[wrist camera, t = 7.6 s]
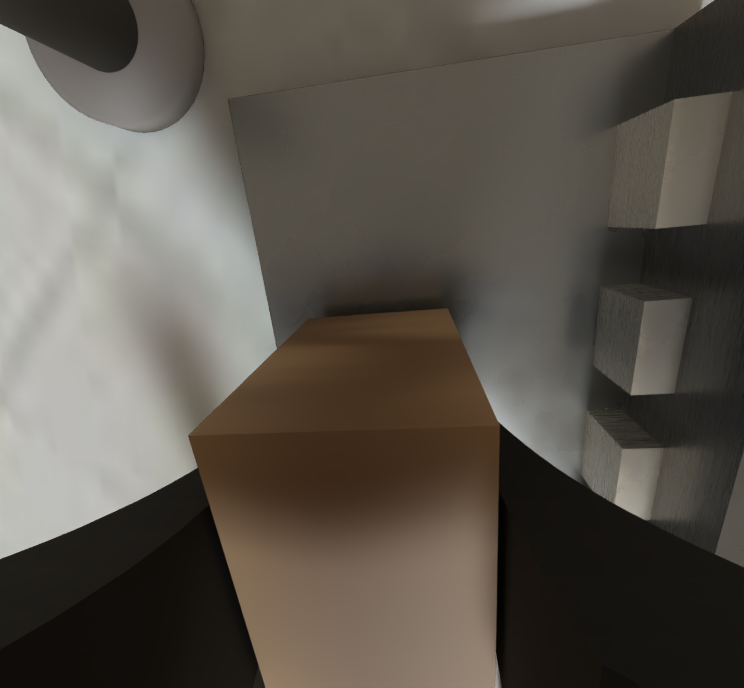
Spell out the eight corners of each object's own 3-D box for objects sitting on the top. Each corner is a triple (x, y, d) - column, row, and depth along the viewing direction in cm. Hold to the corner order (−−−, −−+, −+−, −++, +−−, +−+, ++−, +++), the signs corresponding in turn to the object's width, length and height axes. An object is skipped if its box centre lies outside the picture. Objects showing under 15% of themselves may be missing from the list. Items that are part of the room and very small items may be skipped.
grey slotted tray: (329, 568, 16) (296, 711, 11) (244, 110, 10) (107, 18, 6) (613, 572, 15) (711, 739, 10) (699, 40, 9) (1027, -163, 4)
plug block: (335, 486, 12) (272, 712, 7) (308, 318, 10) (187, 435, 5) (453, 484, 12) (494, 727, 6) (447, 308, 10) (499, 424, 4)
